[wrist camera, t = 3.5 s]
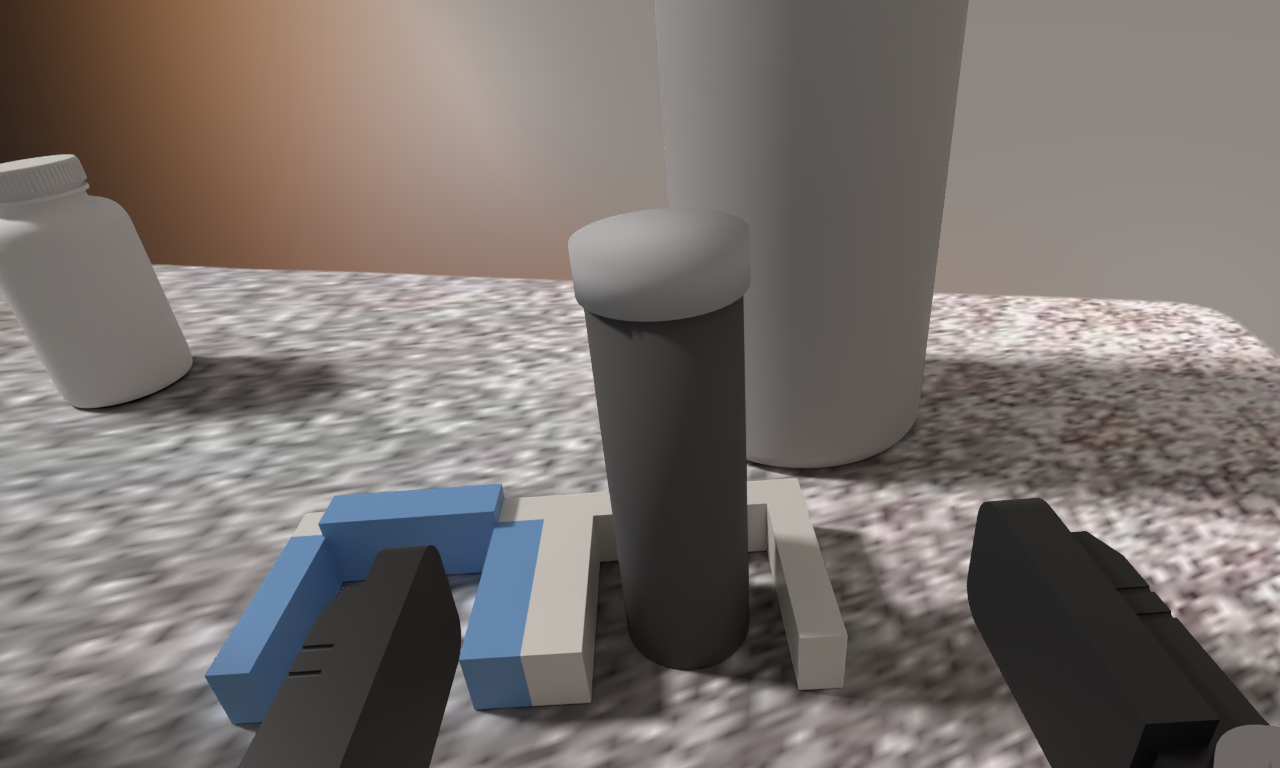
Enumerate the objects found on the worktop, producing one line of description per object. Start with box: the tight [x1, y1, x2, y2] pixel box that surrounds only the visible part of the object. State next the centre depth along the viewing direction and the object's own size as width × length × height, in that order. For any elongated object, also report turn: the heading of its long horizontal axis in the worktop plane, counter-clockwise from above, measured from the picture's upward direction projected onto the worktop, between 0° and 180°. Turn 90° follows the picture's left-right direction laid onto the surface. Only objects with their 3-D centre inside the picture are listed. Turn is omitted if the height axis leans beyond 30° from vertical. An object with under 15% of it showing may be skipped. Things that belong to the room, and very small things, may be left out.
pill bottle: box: [0, 155, 193, 408], centre depth 46 cm, size 8×8×15 cm
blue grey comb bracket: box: [205, 478, 848, 724], centre depth 27 cm, size 8×21×3 cm, turn 90°
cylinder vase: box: [654, 0, 969, 468], centre depth 33 cm, size 12×12×25 cm
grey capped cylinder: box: [568, 208, 750, 670], centre depth 23 cm, size 5×5×15 cm
